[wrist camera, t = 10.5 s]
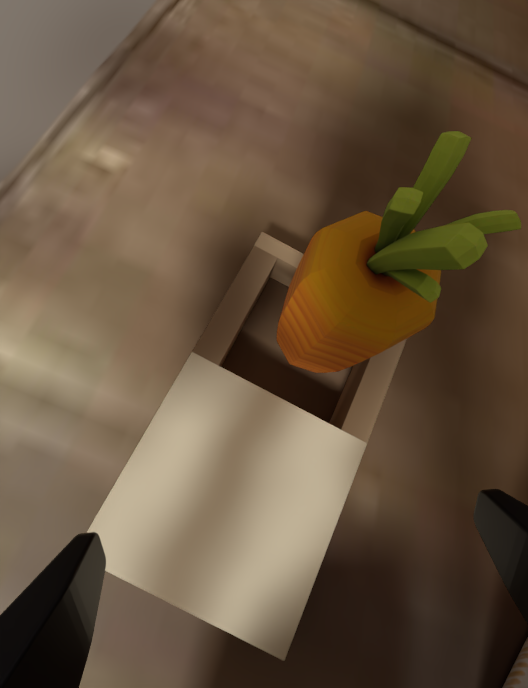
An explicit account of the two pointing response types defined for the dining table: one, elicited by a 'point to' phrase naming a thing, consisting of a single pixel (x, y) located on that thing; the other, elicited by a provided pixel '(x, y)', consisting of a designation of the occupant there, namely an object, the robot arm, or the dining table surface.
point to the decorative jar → (519, 670)
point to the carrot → (380, 271)
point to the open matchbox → (239, 480)
